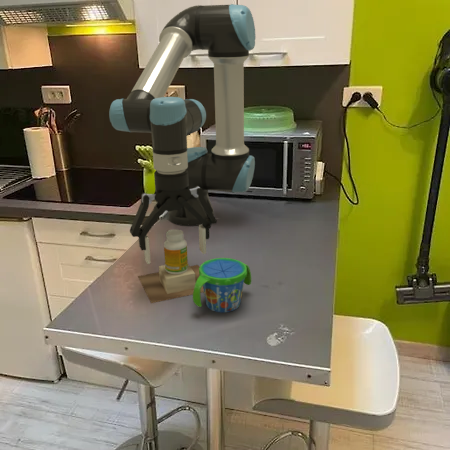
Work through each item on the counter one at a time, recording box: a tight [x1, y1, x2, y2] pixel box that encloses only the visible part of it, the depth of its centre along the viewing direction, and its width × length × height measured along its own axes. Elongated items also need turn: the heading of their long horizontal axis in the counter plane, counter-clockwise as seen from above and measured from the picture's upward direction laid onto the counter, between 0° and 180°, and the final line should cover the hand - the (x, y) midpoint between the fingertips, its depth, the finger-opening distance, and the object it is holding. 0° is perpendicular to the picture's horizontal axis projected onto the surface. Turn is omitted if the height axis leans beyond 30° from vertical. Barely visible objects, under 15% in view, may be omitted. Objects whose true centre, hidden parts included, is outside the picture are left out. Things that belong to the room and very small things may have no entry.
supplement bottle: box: [163, 229, 189, 274], centre depth 114 cm, size 5×5×10 cm
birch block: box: [158, 263, 195, 294], centre depth 117 cm, size 7×7×4 cm
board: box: [137, 264, 204, 304], centre depth 119 cm, size 14×16×1 cm
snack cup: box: [192, 257, 252, 313], centre depth 108 cm, size 16×10×10 cm
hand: (175, 256), depth 115 cm, fingers open, 13 cm apart
